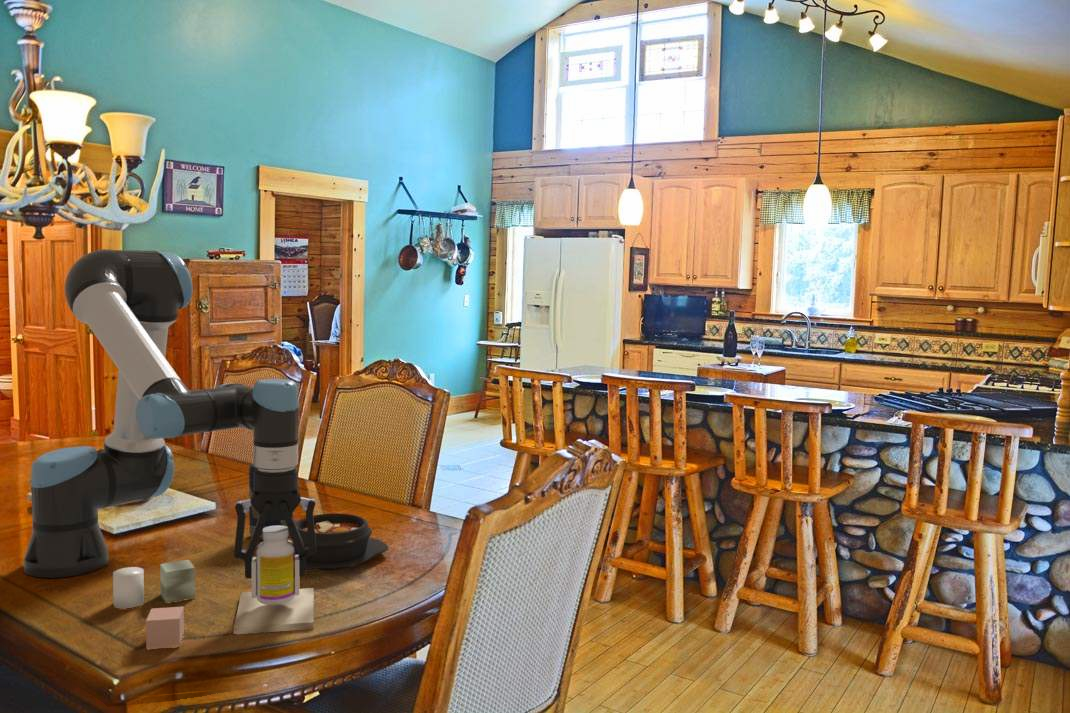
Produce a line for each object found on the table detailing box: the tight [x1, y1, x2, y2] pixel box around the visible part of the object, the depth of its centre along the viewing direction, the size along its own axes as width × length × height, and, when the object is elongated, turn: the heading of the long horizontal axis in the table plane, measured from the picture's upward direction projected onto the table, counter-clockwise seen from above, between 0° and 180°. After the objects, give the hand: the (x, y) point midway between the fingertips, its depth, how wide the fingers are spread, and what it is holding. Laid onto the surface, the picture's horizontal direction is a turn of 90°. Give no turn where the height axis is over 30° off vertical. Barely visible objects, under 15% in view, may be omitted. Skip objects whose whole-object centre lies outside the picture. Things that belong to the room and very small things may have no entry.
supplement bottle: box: [255, 525, 295, 605], centre depth 153 cm, size 7×7×13 cm
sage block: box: [159, 559, 196, 604], centre depth 160 cm, size 5×5×6 cm
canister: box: [248, 463, 290, 541], centre depth 195 cm, size 10×10×18 cm
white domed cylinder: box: [112, 566, 145, 610], centre depth 156 cm, size 5×5×6 cm
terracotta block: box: [145, 606, 185, 648], centre depth 141 cm, size 5×5×5 cm
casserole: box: [288, 512, 389, 571], centre depth 181 cm, size 25×19×8 cm
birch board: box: [233, 587, 315, 635], centre depth 154 cm, size 13×16×1 cm
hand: (275, 593), depth 153 cm, fingers closed on supplement bottle, 7 cm apart
